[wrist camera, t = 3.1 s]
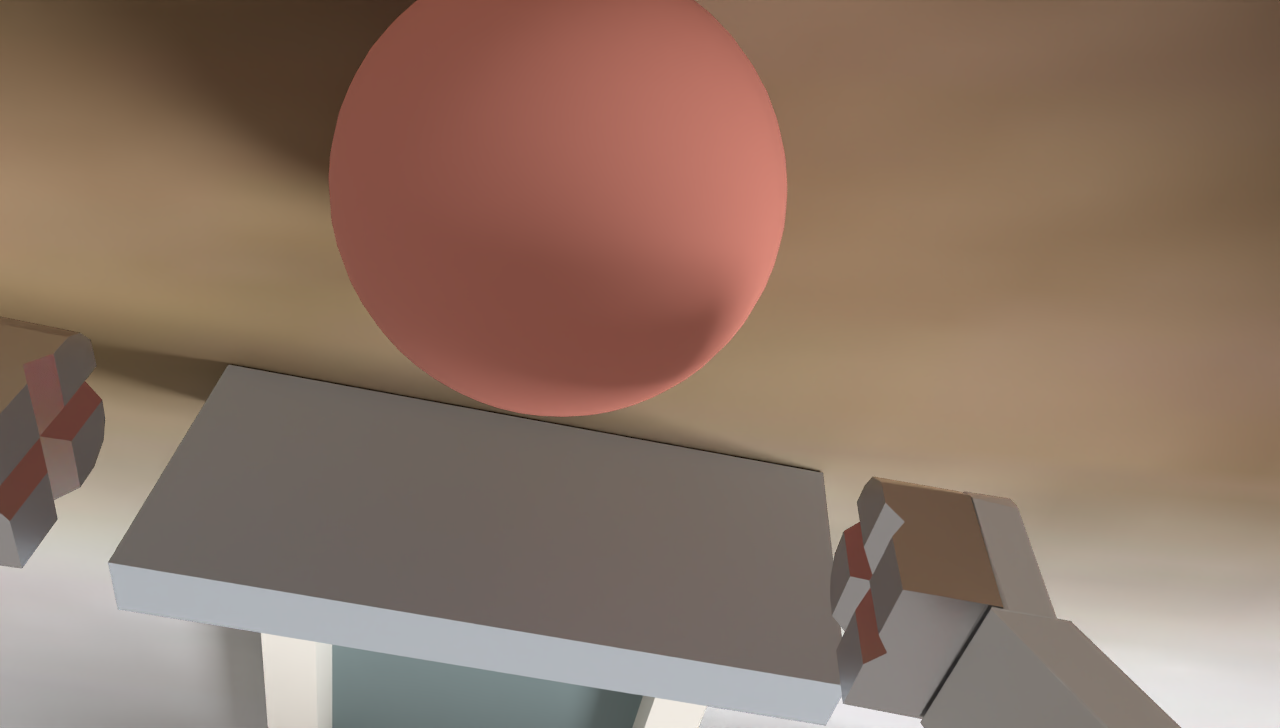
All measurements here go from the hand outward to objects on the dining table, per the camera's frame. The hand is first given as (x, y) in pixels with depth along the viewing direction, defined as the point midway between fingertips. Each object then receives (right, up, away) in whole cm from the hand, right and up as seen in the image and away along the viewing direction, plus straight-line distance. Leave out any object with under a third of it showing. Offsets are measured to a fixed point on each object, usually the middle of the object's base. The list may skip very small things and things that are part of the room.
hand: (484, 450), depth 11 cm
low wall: (-1, -1, +10) cm, 10 cm away
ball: (+1, +3, +3) cm, 4 cm away
